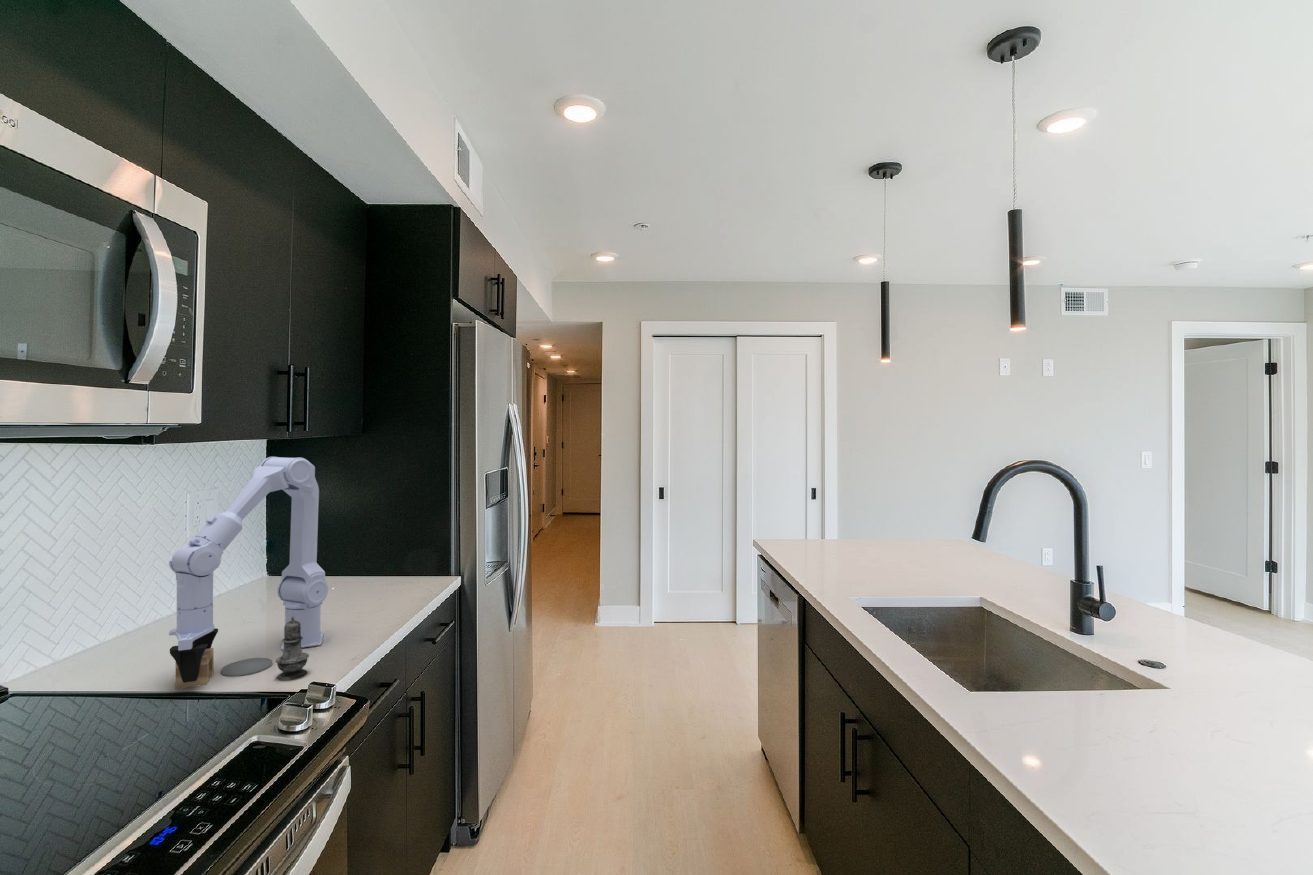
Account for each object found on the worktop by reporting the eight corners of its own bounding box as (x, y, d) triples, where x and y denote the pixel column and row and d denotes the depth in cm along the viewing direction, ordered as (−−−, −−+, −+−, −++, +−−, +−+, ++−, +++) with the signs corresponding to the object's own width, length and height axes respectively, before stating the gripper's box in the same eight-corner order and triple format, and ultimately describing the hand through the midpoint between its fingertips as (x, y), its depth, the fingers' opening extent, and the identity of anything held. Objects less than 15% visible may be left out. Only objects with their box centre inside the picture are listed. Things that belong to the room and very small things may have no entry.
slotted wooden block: (182, 679, 119) (183, 651, 119) (213, 674, 122) (213, 647, 121) (175, 688, 115) (175, 660, 115) (207, 684, 117) (207, 656, 117)
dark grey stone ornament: (293, 682, 118) (293, 622, 118) (268, 679, 119) (268, 619, 119) (315, 670, 124) (316, 613, 124) (291, 668, 125) (291, 611, 125)
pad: (225, 663, 127) (225, 661, 127) (275, 656, 131) (275, 655, 131) (215, 679, 119) (216, 677, 119) (269, 671, 123) (269, 669, 123)
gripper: (180, 598, 123) (180, 664, 123) (157, 618, 110) (157, 692, 110) (222, 595, 126) (222, 659, 126) (204, 614, 113) (204, 685, 113)
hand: (195, 674), depth 118 cm, fingers open, 6 cm apart
